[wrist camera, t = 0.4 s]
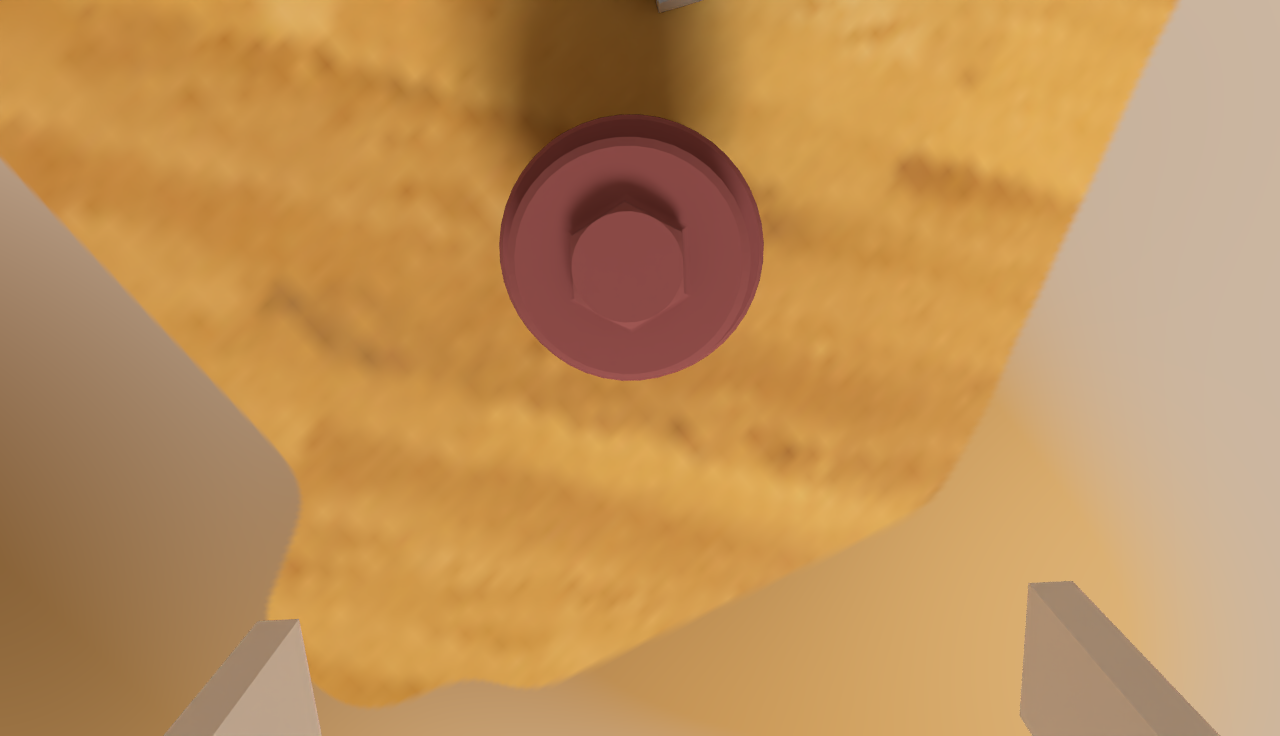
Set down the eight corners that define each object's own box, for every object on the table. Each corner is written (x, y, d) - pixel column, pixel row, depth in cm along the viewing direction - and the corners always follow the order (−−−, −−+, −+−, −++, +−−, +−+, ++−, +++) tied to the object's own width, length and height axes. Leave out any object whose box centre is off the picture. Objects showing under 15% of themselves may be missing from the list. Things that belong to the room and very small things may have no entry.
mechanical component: (605, 373, 41) (488, 199, 39) (781, 265, 39) (669, 77, 37) (584, 464, 29) (414, 220, 27) (835, 314, 27) (676, 42, 25)
